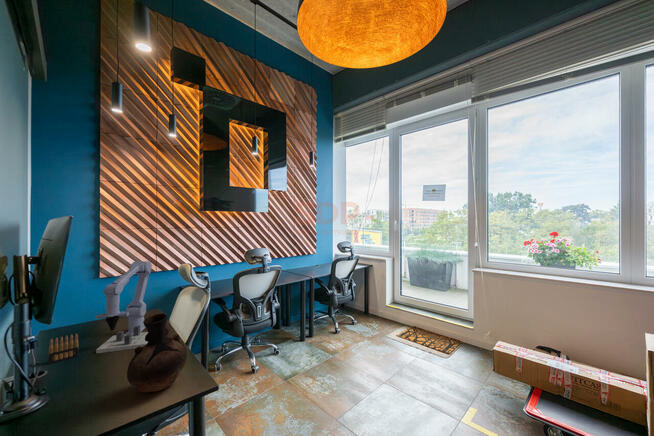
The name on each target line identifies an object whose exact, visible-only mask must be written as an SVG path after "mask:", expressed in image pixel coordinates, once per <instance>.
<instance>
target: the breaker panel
mask: <svg viewBox="0 0 654 436" xmlns="http://www.w3.org/2000/svg"><path fill="white" fill-rule="evenodd" d="M147 333H148V331H144V332H143V331H142V332H141V333H140V334H139V335H134V334H132V342H131V343H130V344H124V339H123V340H122V341H116V335H112V336H111V337H110V338H108V339H107V340H106V341H105V342H104V343H102V344H101V345H100V346H99V347H98V348H97V349H96V351H95V352H96V353H95V354H103V353H111V352H121V351H125V350H126V351H127V350H135V349H136V348H137V347H139V346H141V347H143V346H144V345H145V344H147V343H148V342H147V341H145V336H146V335H147ZM125 335H126V333H124V336H125Z"/></svg>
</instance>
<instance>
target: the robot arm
mask: <svg viewBox="0 0 654 436" xmlns="http://www.w3.org/2000/svg"><path fill="white" fill-rule="evenodd" d="M152 267H153V264H152V263H151V261H150V260H148V261H147V260H145V261H135V260H134V261H133V262H132V263H131V264H130V267H129V269H128V270H127V271H126V272H125V273H124V274H121V275H119V276H118V277H117V278H116V279H115V280H114V281H113V282H112V283H111V284H110V283H108V284H107V285H106V286H105V287H104V290H103V294H104V295H105V299H106V310H105V313H99V314H96V317H95V319H96V320H98V319H105V322H106V323H107V325H108V327H109V331H110V332H111V331H112V332H113V331H114V330H115V329H116V326H117V323H118V321H119V319H120V318H121V317H127V319H128V326H127V327H128V331H127V332H125V334H134V327H135V326H140V333H143V330H144V329H147V328H146V327H145V325H144V323H143V321H144V320H145V315H146V313H147V304H146V302H144V299H145V298H144V297H145V293H146V289H147V286H148V285H147V284H148V279H149V276H150V274H151V271H152V269H153V268H152ZM134 275H136V276H138V280H137V284H136V287H135V290H134V291H135V292H134V294H133V295H134V296H133V298H132V301H131V302H130V303H129V304H127V307H126V309H125V311H120V302H121V301H120V299H121V298H120V295H121V294H122V292H123V290H124V289H125V286H127V284H128V283H129V282H130V278H132V277H133V276H134Z"/></svg>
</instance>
